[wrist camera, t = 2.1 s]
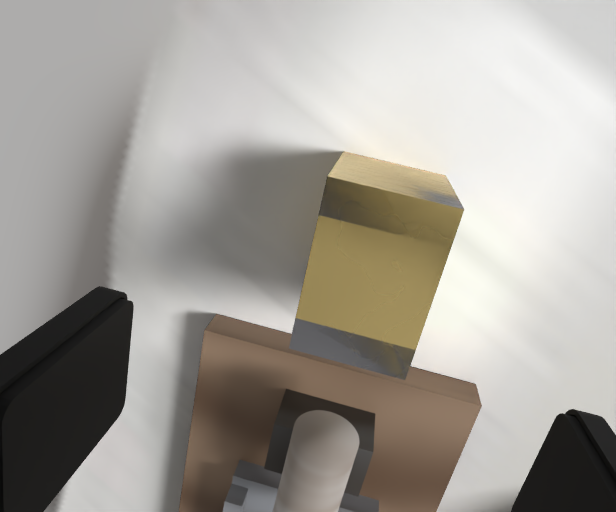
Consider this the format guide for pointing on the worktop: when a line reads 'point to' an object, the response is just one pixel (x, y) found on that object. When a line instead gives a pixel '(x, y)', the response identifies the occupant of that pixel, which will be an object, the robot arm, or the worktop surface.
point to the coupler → (375, 263)
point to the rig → (317, 430)
